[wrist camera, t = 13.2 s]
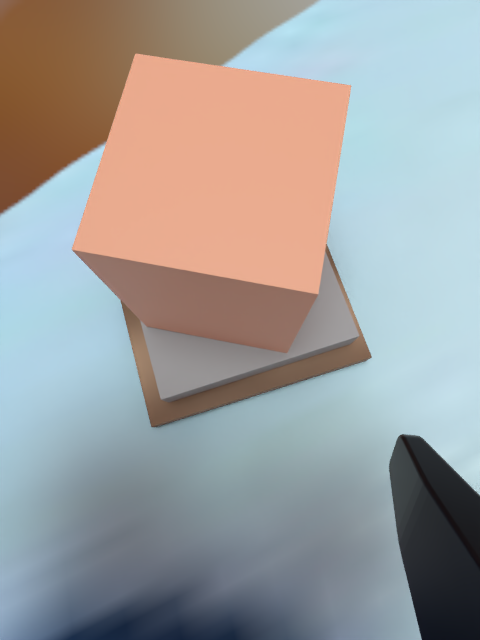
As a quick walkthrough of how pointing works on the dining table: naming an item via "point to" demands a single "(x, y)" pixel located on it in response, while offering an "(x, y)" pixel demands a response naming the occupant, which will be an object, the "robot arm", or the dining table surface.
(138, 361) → the tower base block
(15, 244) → the dining table surface
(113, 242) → the terracotta block
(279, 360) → the grey square slab
